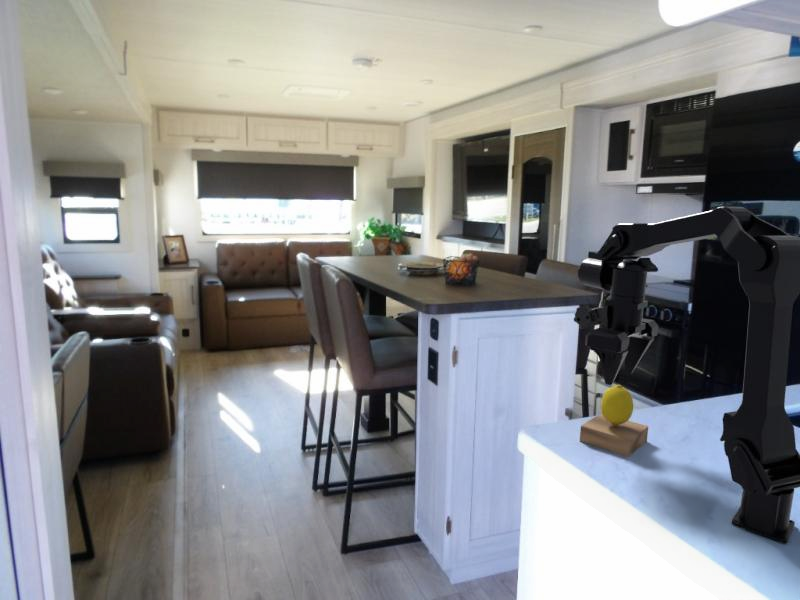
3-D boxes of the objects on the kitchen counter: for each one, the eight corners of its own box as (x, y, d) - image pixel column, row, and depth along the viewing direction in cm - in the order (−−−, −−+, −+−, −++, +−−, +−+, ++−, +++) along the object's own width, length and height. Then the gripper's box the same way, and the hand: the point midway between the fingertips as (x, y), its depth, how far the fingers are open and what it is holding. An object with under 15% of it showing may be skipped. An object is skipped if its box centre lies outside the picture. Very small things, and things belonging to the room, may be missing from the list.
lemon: (611, 433, 99) (615, 390, 98) (592, 421, 105) (596, 381, 103) (637, 430, 101) (642, 388, 99) (618, 419, 106) (622, 379, 105)
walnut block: (628, 456, 97) (630, 440, 97) (579, 440, 103) (580, 425, 103) (646, 441, 104) (648, 426, 103) (599, 427, 110) (601, 413, 109)
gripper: (604, 284, 111) (597, 359, 114) (560, 294, 97) (553, 379, 100) (663, 291, 103) (654, 372, 106) (624, 303, 90) (615, 395, 93)
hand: (618, 378), depth 101 cm, fingers open, 9 cm apart
